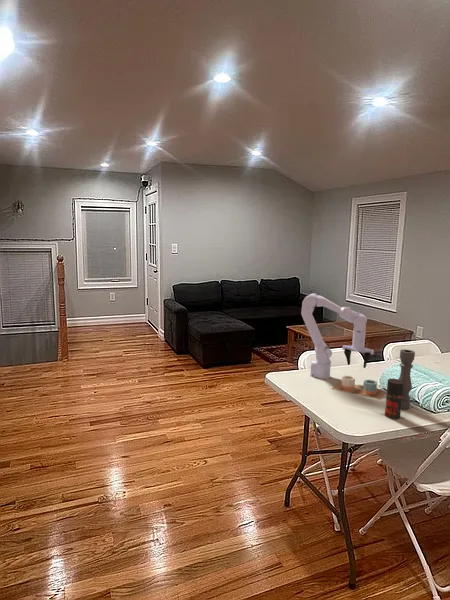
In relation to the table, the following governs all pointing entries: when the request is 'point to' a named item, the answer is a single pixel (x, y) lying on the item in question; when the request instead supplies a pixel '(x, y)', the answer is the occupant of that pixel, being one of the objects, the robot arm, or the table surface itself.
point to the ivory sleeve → (348, 382)
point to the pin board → (359, 391)
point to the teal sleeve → (370, 387)
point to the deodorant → (394, 398)
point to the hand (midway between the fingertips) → (356, 365)
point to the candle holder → (406, 376)
